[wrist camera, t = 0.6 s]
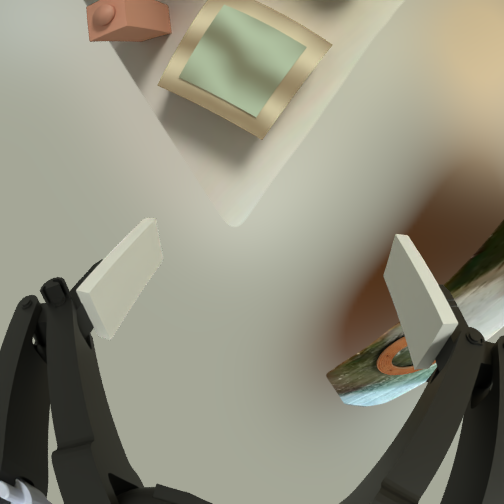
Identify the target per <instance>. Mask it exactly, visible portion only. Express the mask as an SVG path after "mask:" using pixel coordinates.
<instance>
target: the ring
mask: <svg viewBox="0 0 504 504" xmlns="http://www.w3.org/2000/svg"><path fill="white" fill-rule="evenodd" d="M406 346H408V345H407V342H406V339H405V336H404V337H402V338H401V339H399V340H397V341H395V342H394V343H392V344H391V345H390V346H388V347H387V348H386V349H385V350H384V351H383V352H382V353H381V354H380V356H379V357H378V360H377V368H378V369H379V370H380V371H381V372H382V373H385V374H389V375H402V374H408V373H412V372H416V371H419V370H422V369H417V370H414V366H409V367H397V366H394V365H393V364H392V359H393V357H394V356H395V355H396V354H397V353H398V352H399V351H400V350H401V349H403V348H404V347H406ZM434 363H436V361H435V360H434V362H433V363H432V364H434Z"/></svg>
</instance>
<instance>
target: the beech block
mask: <svg viewBox="0 0 504 504" xmlns="http://www.w3.org/2000/svg"><path fill="white" fill-rule="evenodd" d="M331 46H332V44H331V43H329V42H328V41H326V40H325V39H323V38H322V37H320V36H319V35H317V34H315V33H314V32H312V31H311V30H309V29H307V28H306V27H304V26H303V25H301V24H299V23H297V22H296V21H294V20H292V19H290V18H289V17H287V16H285V15H283V14H281V13H279V12H277V11H276V10H274V9H272V8H270V7H268V6H266V5H264V4H261V3H259V2H257V1H255V0H207V2H206V3H205V4H204V6H203V7H202V9H201V10H200V12H199V13H198V15H197V16H196V18H195V19H194V21H193V22H192V24H191V26H190V27H189V29H188V30H187V32H186V34H185V35H184V37H183V39H182V40H181V42H180V44H179V46H178V47H177V49H176V51H175V53H174V54H173V56H172V58H171V60H170V62H169V64H168V66H167V67H166V69H165V71H164V73H163V75H162V77H161V79H160V81H159V83H158V85H157V86H160V87H162V88H164V89H166V90H169V91H171V92H173V93H175V94H177V95H179V96H181V97H183V98H186V99H188V100H190V101H192V102H194V103H196V104H198V105H200V106H202V107H204V108H206V109H208V110H209V111H211V112H213V113H215V114H217V115H219V116H221V117H223V118H224V119H226V120H228V121H230V122H232V123H234V124H235V125H237V126H239V127H241V128H242V129H244V130H246V131H248V132H249V133H251V134H253V135H255V136H256V137H258V138H260V139H261V140H262V139H263V138H264V137H265V135H266V134H267V132H268V131H269V129H270V128H271V127H272V125H273V124H274V122H275V121H276V119H277V118H278V117H279V115H280V114H281V112H282V111H283V110H284V108H285V107H286V106H287V104H288V103H289V101H290V100H291V99H292V97H293V96H294V95H295V93H296V92H297V90H298V89H299V88H300V86H301V85H302V84H303V82H304V81H305V80H306V78H307V77H308V76H309V75H310V73H311V72H312V71H313V69H314V68H315V67H316V65H317V64H318V63H319V62H320V60H321V59H322V58H323V56H324V55H325V54H326V53H327V51H328V50H329V49H330V48H331Z"/></svg>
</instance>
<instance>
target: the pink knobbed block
mask: <svg viewBox="0 0 504 504" xmlns="http://www.w3.org/2000/svg"><path fill="white" fill-rule="evenodd" d="M86 9H87V20H88V30H89V40H90V42H92V41H133V42H142V41H145V40H149V39H152V38H155V37H159V36H162V35H166V34H170V33H171V26H170V17H169V9H168V5H165V4H163V3H160V2H158V1H155V0H99V1H97V2H95V3H93V4H91V5H89V6H87V7H86Z"/></svg>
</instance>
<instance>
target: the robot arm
mask: <svg viewBox="0 0 504 504" xmlns="http://www.w3.org/2000/svg"><path fill="white" fill-rule="evenodd" d="M163 260H164V259H163V254H162V249H161V243H160V238H159V232H158V227H157V221H156V218H144V219H143V220H142V221H141V222H140V223H139V224H138V225H137V226H136V227H135V228H134V229H133V230H132V231H131V232H130V233H129V234H128V235H127V236H126V237H125V238H124V239H123V240H122V241H121V242H120V243H119V244H118V245H117V246H116V247H115V248H114V249H113V250H112V251H111V252H110V253H109V254H108V255H107V256H106V257H105V258H104V259H103V260H100V261H99V262H97V263H96V264H94V265H93V266H92V267H91V268H90V269H89V271H88V272H87V273H86V274H85V275H84V277H82V278H81V279H80V280H79V281H78V283H77V284H76V285H75V286H74V287H73V288H72V289H71V291H70V292H69V289H68V287H67V285H66V282H65V280H64V279H63V278H59V277H57V278H53V279H51V280H49V281H47V282H46V283H44V285H43V286H42V287H41V290H40V292H41V294H42V296H43V298H44V300H45V302H46V303H42V304H41V303H39V301H38V299H37V297H36V296H35V295H29V296H26V297H25V298H23V299H22V300H21V301H20V302H19V304H18V305H17V307H16V310H15V312H14V315H13V317H12V319H11V322H10V324H9V327H8V330H7V332H6V335H5V338H4V341H3V344H2V347H1V350H0V504H52V503H51V502H49V501H48V500H47V492H48V425H49V410H50V404H51V411H52V418H53V424H54V430H55V435H56V440H57V446H58V447H57V450H56V451H54V452H53V453H52V464H53V468H54V471H55V475H56V479H57V482H58V486H59V489H60V492H61V495H62V498H63V501H64V504H212V503H210V502H207V501H205V500H203V499H201V498H199V497H196V496H194V495H192V494H190V493H187V492H183V491H180V490H176V489H173V488H169V487H166V486H163V485H159V484H156V487H144V486H143V484H142V482H141V480H140V478H139V476H138V475H137V473H136V472H135V471H134V470H133V469H132V467H131V465H130V464H129V462H128V459H127V457H126V454H125V452H124V449H123V447H122V444H121V441H120V439H119V436H118V433H117V430H116V427H115V424H114V422H113V418H112V415H111V412H110V409H109V406H108V402H107V399H106V395H105V391H104V388H103V384H102V380H101V376H100V372H99V367H98V363H97V358H96V353H95V348H94V343H93V338H92V336H91V334H90V332H91V331H92V329H93V328H94V329H95V331H96V333H97V335H98V336H99V337H102V338H105V339H109V340H111V339H112V338H113V336H114V334H115V333H116V331H117V329H118V328H119V326H120V325H121V323H122V321H123V320H124V318H125V316H126V315H127V313H128V312H129V310H130V309H131V307H132V306H133V304H134V302H135V301H136V299H137V298H138V296H139V295H140V293H141V292H142V290H143V289H144V287H145V286H146V284H147V283H148V281H149V280H150V279H151V277H152V276H153V274H154V273H155V271H156V270H157V268H158V267H159V265H160V264H161V263H162V261H163ZM384 279H385V281H386V284H387V286H388V289H389V291H390V294H391V297H392V299H393V303H394V305H395V308H396V311H397V314H398V317H399V320H400V323H401V326H402V329H403V332H404V335H405V339H406V342H407V345H408V349H409V352H410V355H411V359H412V363H413V366H414V370H417V369H428V368H429V367H430V366H431V365H432V363H433V362H434V360H435V361H436V364H437V368H436V369H435V371H434V372H433V373H432V374H431V376H430V377H429V378H428V380H427V381H426V382H428V384H427V386H426V388H425V390H424V392H423V394H422V395H421V397H420V399H419V401H418V403H417V404H416V406H415V408H414V409H413V411H412V413H411V415H410V416H409V418H408V419H407V421H406V423H405V424H404V426H403V427H402V429H401V431H400V432H399V433H398V435H397V437H396V438H395V439H394V441H393V442H392V444H391V445H390V446H389V448H388V449H387V451H386V452H385V453H384V455H383V456H382V457H381V459H380V460H379V461H378V463H377V464H376V465H375V467H374V468H373V469H372V470H371V472H370V473H369V474H368V475H367V476H366V478H365V479H364V480H363V481H362V482H361V483H360V485H359V486H358V487H357V488H356V489H355V490H354V491H353V492H352V493H351V494H350V495H349V496H348V497H347V498H346V499H345V500H343V501H342V502H341V503H340V504H418V501H419V500H420V498H421V496H422V495H423V493H424V492H425V490H426V489H427V487H428V485H429V484H430V482H431V480H432V479H433V477H434V475H435V474H436V472H437V470H438V468H439V467H440V465H441V463H442V461H443V459H444V457H445V455H446V453H447V451H448V449H449V447H450V445H451V443H452V441H453V439H454V436H455V434H456V432H457V430H458V428H459V425H460V423H461V421H462V418H463V423H462V429H461V434H460V439H459V443H458V448H457V452H456V456H455V460H454V464H453V467H452V471H451V474H450V477H449V480H448V484H447V487H446V490H445V492H444V495H443V498H442V501H441V503H440V504H504V336H501V337H500V338H499V339H498V340H497V342H496V343H491V342H487V341H485V340H484V337H483V336H482V334H481V333H480V332H479V331H478V330H476V329H474V328H472V327H468V325H467V323H466V321H465V319H464V317H463V315H462V313H461V311H460V309H459V308H458V307H457V304H456V302H455V301H454V298H453V297H452V295H451V293H450V291H449V290H447V289H446V288H445V287H444V286H443V285H438V284H437V282H436V280H435V278H434V277H433V275H432V273H431V272H430V270H429V268H428V267H427V265H426V263H425V262H424V260H423V259H422V257H421V255H420V254H419V252H418V251H417V249H416V248H415V246H414V245H413V243H412V241H411V240H410V239H409V237H408V235H398V234H396V235H395V238H394V242H393V245H392V249H391V253H390V256H389V259H388V263H387V266H386V270H385V273H384ZM33 338H34V339H35V344H33V343H32V339H33ZM463 416H464V417H463Z"/></svg>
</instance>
